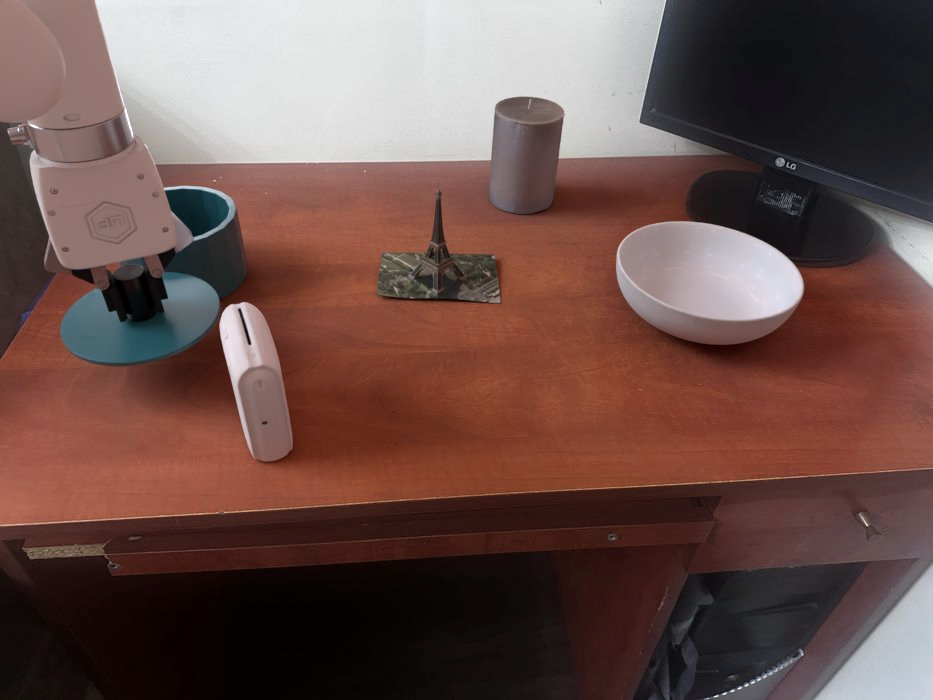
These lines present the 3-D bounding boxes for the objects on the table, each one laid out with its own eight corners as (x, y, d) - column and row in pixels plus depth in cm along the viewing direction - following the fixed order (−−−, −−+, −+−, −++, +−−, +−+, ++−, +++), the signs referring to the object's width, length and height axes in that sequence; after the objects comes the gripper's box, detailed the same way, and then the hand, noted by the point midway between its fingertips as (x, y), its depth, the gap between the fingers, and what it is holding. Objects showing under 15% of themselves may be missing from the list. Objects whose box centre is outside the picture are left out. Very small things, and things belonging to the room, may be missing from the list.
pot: (136, 321, 80) (115, 257, 74) (121, 258, 90) (101, 198, 84) (260, 292, 85) (248, 230, 80) (233, 236, 95) (221, 177, 89)
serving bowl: (823, 337, 82) (846, 288, 78) (688, 393, 74) (705, 342, 70) (698, 250, 96) (711, 205, 92) (572, 290, 88) (580, 242, 83)
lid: (69, 389, 64) (45, 337, 60) (59, 300, 74) (38, 250, 70) (236, 345, 69) (225, 295, 66) (205, 267, 80) (194, 220, 76)
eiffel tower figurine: (496, 257, 93) (503, 162, 84) (500, 303, 85) (508, 203, 77) (382, 255, 92) (377, 159, 84) (375, 300, 85) (369, 200, 76)
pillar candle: (494, 180, 110) (500, 83, 100) (556, 188, 109) (569, 91, 99) (482, 210, 102) (488, 108, 93) (549, 219, 101) (562, 117, 92)
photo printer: (299, 456, 66) (281, 354, 58) (252, 469, 64) (227, 366, 56) (277, 385, 73) (258, 286, 65) (234, 395, 71) (210, 295, 63)
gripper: (-31, 168, 53) (53, 353, 65) (192, 134, 59) (231, 310, 71) (-29, 131, 58) (48, 309, 70) (176, 103, 64) (216, 271, 76)
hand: (140, 308), depth 71 cm, fingers closed on lid, 2 cm apart
